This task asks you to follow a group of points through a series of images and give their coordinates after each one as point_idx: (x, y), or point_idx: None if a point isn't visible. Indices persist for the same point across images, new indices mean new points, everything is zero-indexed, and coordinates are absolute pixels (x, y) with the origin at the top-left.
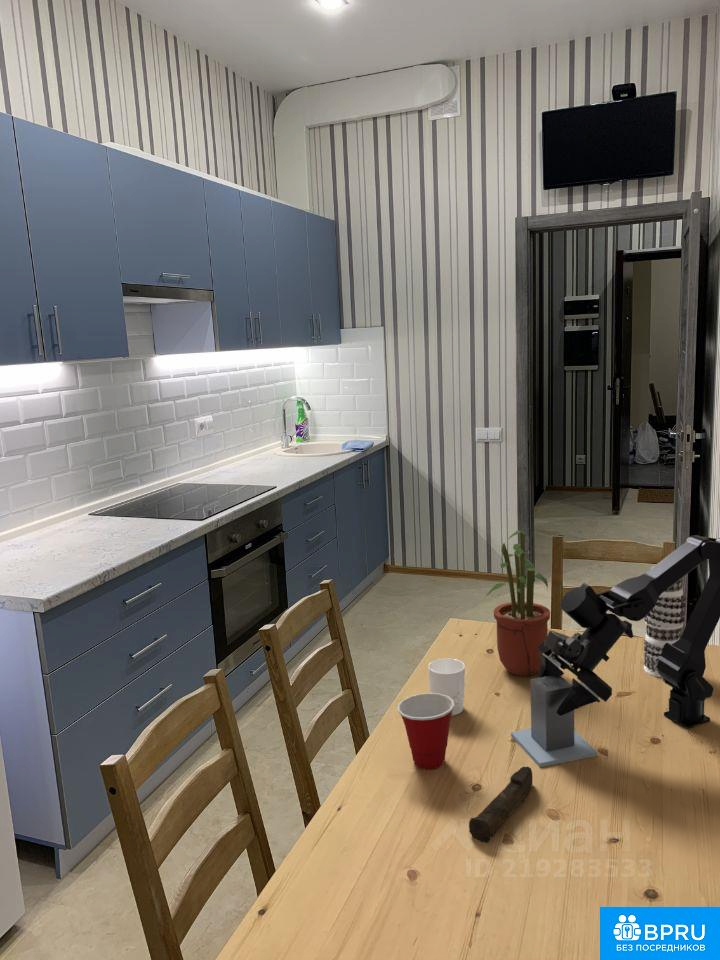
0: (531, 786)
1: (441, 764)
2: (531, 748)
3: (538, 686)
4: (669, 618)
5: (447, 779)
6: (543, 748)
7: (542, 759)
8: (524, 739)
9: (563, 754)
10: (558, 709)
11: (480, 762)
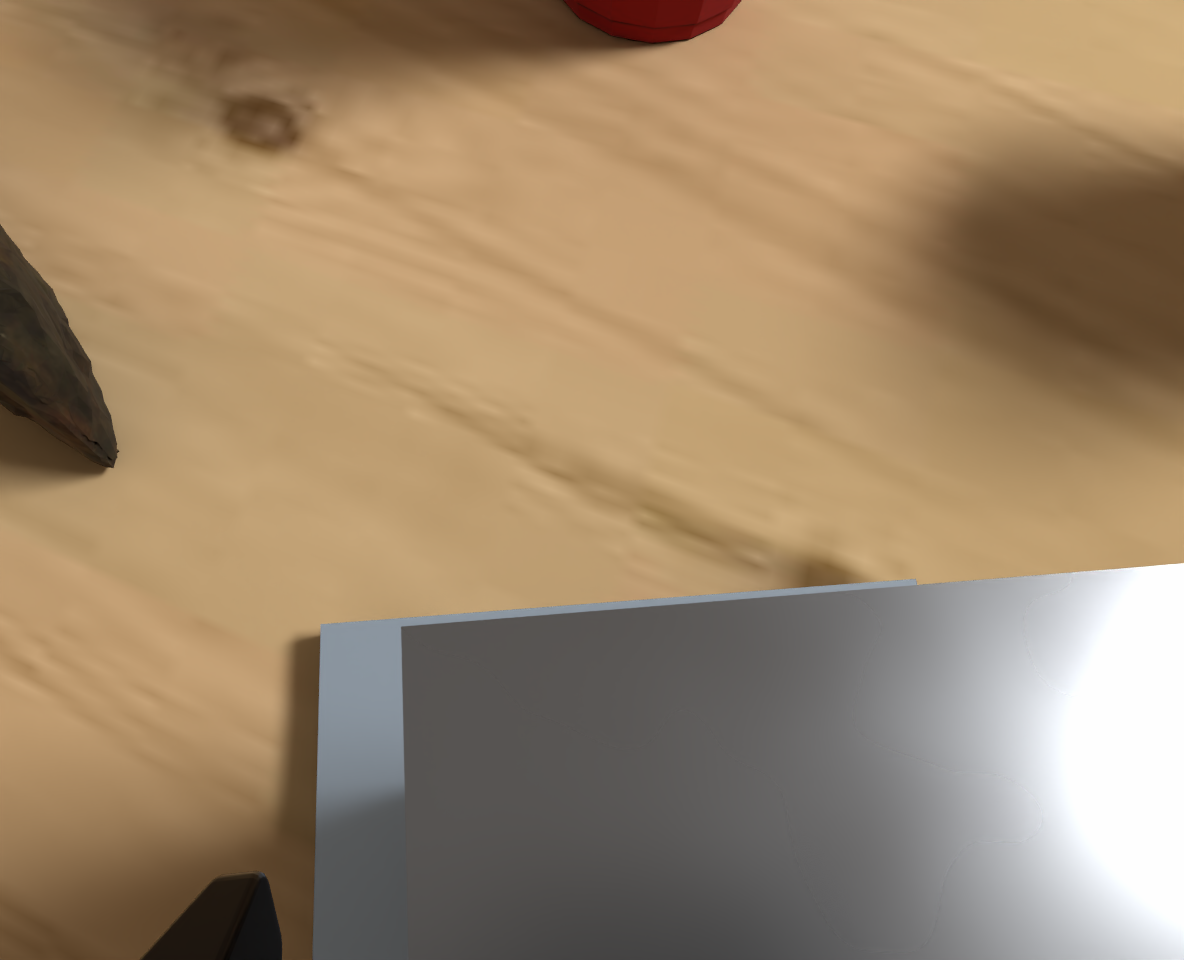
0: (60, 439)
1: (574, 5)
2: None
3: (853, 598)
4: None
5: (415, 7)
6: None
7: (372, 678)
8: None
9: (380, 937)
10: (208, 918)
11: (549, 235)
